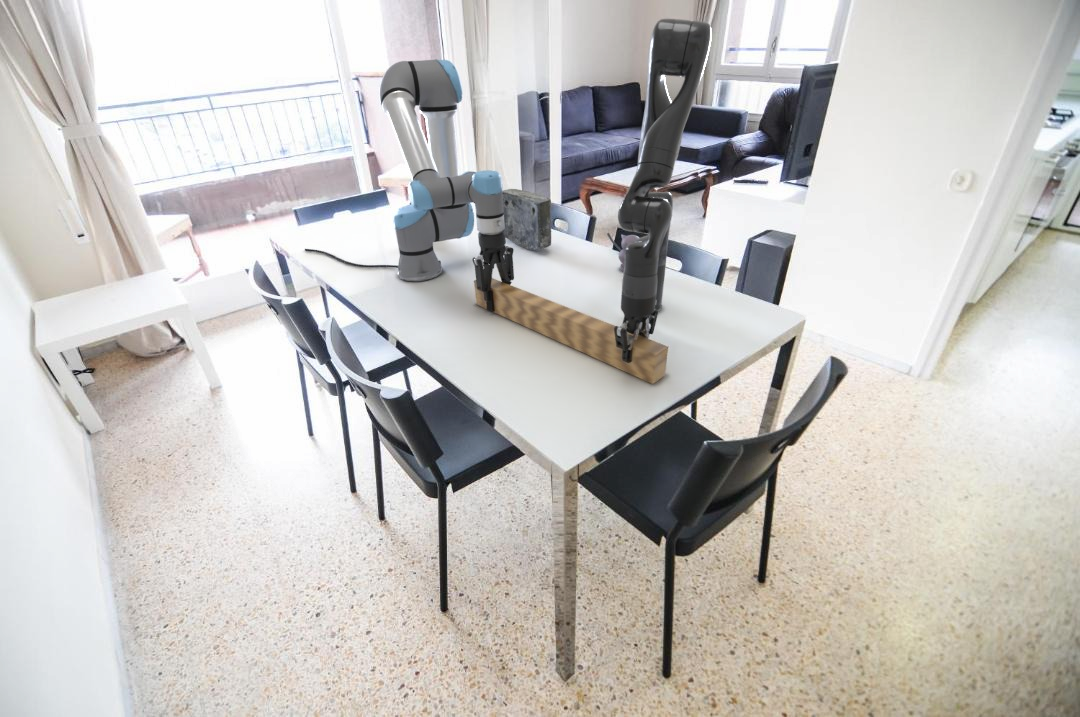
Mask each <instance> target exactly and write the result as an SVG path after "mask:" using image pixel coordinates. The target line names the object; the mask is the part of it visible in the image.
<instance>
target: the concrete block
mask: <svg viewBox="0 0 1080 717" xmlns="http://www.w3.org/2000/svg"><path fill="white" fill-rule="evenodd" d="M502 195H503V211H504V225H505V229H504V231H505V238H506V240H508V241H511V243H514V244H515V245H517V246H519V247H522V248H523V249H526V250H529V251H542V250H544V249H546V248H548V247H551V245H552V200H551V198H550V197H546V196H544V195H541V194H538V193H535V192H531V191H527V190H522V189H517V188H508V189H502Z"/></svg>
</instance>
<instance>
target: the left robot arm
mask: <svg viewBox="0 0 1080 717" xmlns="http://www.w3.org/2000/svg"><path fill="white" fill-rule="evenodd" d="M460 78H461V77H460V75H459V72H458V70H457V68H456V66H455V64H454V63H453V62H451V61H450V60H447V59H437V58H436V59H424V60H423V59H422V60H400V61H398V62H395V63H393V64H392V65H390V66H389V67H388V68H387V69H386V71H385V72H384V74H383V76H382V78H381V80H380V83H379V89H378V99H379V103H380V106H381V109H382V111H383V113H384V114H385V115H386V116H387V117H388V118H389V120H390V123H391V126H392V129H393V132H394V134H395V137H396V139H397V142H398V145H399V148H400V152H401V154H402V157H403V159H404V162H405V164H406V167H407V170H408V172H409V175H410V178H411V181H410V182H408V185H407V192H408V197H409V201H410V202H409V203H411V205H410V204H407V205H404V206H401V207H399V208H397V209H396V210H395V211H394V213H393V215H392V219H393V228H394V230H395V231H394V232H395V236H396V241H397V247H398V251H399V259H398V265H395V264H361V263H354V262H350V261H347V260H344V259H342V258H341V257H338V256H336V255H335V254H332V253H330V252H327V251H325V250H319V249H313V248H304V251H305V252H314V253H319V254H324V255H326V256H329V257H331V258H333V259H336V260H337V261H339V262H341V263H344V264H347V265H350V266H355V267H359V268H394V269H397V276H398V278H399V279H400V280H402V281H406V282H413V283H414V282H425V281H429V280H432V279H435V278H438V277H439V276H440V275H441V274H442V273H443V268H442V263H441V260H439V259H438V256H437V254H436V252H435V250H434V243H439V242H444V241H449V240H456V239H459V240H460V239H461V238H465V237H466V238H467V237H468V236H469V237H470V236H471V234H472V232H473V231H474V227H475V218H476V229H477V230H476V231H478V233H477V238H478V245H479V248H480V251H479V255H478V256H477V257H472V263H473V265H474V271H475V272H474V273H475V280H476V284H477V290H480V291H482V292H483V294H484V300H485V301H486V306H487V309H486V310H487V311H490V312H491V313H494V311H495V310H494V299H493V291H492V290H490V289H491V280H492V278H493V271H494V269H495V266H496V268H497V271H498V274H499V277H500V281H501V282H504V283H506V284H509V285H511V286H512V283H513V282H512V281H514V280H515V272H514V259H513V255H514V251H515V250H514V247H511V246H508V245H506V243H507V238H505V231H504V229H505V225H504V211H503V195H502V191H503V183H502V177H501V173H500V172H498V171H496V170H492V169H491V170H490V169H489V170H488V169H487V170H479V171H472V170H468V171H465V172H463V173H462V174H460V167H459V160H458V159H459V158H458V148H457V141H456V140H457V139H456V131H455V121H454V115H455V114H456V112H457V111H458V104H460V103H461V102H462V100H463V86H462V82H461V79H460ZM416 106H418V110H419V113H420V114H421V115H422V116H423V117H424V118H425V126H426V132H427V139H426V136H425V133H424V131H423V129H422V128H423V127H422V125H421V123H420V120H419V117H418V115H417V112H416V110H415V108H416ZM472 203H473V204H474V207H475V208H473V205H472ZM474 209H475V211H474ZM474 212H475V213H474ZM475 216H476V217H475Z"/></svg>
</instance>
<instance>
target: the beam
mask: <svg viewBox="0 0 1080 717" xmlns="http://www.w3.org/2000/svg"><path fill="white" fill-rule="evenodd" d="M473 283H474V293H475V303H476V305H477V306H479V307H481V308H483V309H485V310H487V306H486V301H485V300H484V294H483V292H482V291H480V290H477V284H476V279H475V280H473ZM490 290H492V291H493V299H494V310H495V311H494V312H493V313H495V314H497V315H499V316H501V317H503V318H505V319H508V320H510V321H512V322H514V323H516V324H519V325H521V326H523V327H525V328H527V329H530V330H532V331H534V332H537V333H539V334H541V335H543V336H545V337H547V338H550V339H552V340H553V341H556V342H558V343H560V344H563V345H565V346H567V347H570V348H572V349H573V350H576V351H579V352H580V353H583V354H584V355H588V356H589V357H592V358H594V359H596V360H598V361H601V362H603V363H605V364H607V365H608V366H611V367H614V368H616V369H618V370H620V371H623V372H625V373H627V374H629V375H632V376H634V377H636V378H637V379H640V380H642V381H645V382H647V383H649V384H651V385H654V384H656V383H657V382H659V380H661V379H662V378H664V377H665V376H666V371H667V361H668V353H669V346H668V345H666V344H663V343H661V342H658V341H656V340H652V339H650V338H645V337H643V336H640V335H638V337H637V340H635V341H634V344H633V348H632V361H631V362H630V363H627V362H625V361H623V360H622V349H620V348H618V347H616V340H615V333H614V328H615V326H616V325H614V324H612V323H609V322H606V321H604V320H601V319H599V318H596V317H594V316H591V315H588V314H586V313H583V312H581V311H578V310H576V309H573V308H570V307H568V306H565V305H562V304H560V303H558V302H555V301H552V300H549V299H547V298H545V297H542V296H539V295H537V294H534V293H531V292H530V291H527V290H524V289H522V288H519V287H517V286H514V285H512V284H511V285H509V284H506V283H504V282H502V281H501V280H498V279H496V278H493V277H492V280H491V289H490ZM628 334H629V335H631V336H633V334H631V333H628ZM627 341H628V344H629V342H630V340H629V339H627ZM621 343H622V342H621Z"/></svg>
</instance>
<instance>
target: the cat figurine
mask: <svg viewBox="0 0 1080 717" xmlns="http://www.w3.org/2000/svg"><path fill="white" fill-rule="evenodd" d="M620 235H621V243H620V244H621V251H619V253H618V260H619V261H620V263H621V264H620V271H621V272H622V273H624V263H625V250H626V247H627V246H628V245H629V244H630V243H633V242H635V241H636V240H637V239H639V238H640V237H639V236H637V235H635V234H628V235H625V234H623V233H621V234H620Z"/></svg>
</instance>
